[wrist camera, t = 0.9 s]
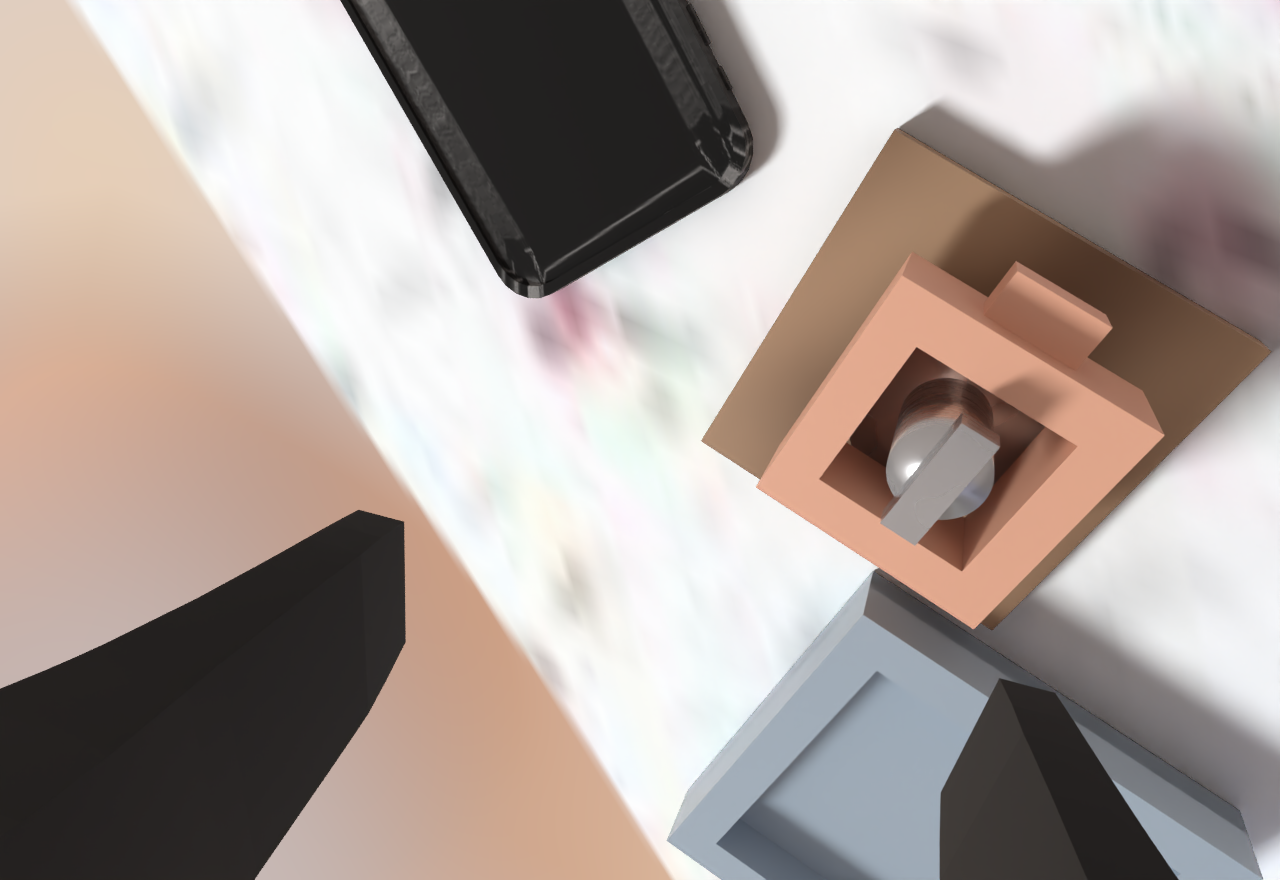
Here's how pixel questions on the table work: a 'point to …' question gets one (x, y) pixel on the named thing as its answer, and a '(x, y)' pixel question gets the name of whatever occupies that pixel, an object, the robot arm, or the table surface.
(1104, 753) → the tray
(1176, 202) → the table surface
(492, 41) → the phone
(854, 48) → the table surface
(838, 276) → the base
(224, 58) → the table surface
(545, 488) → the table surface
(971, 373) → the ring
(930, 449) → the grey stepped cylinder
